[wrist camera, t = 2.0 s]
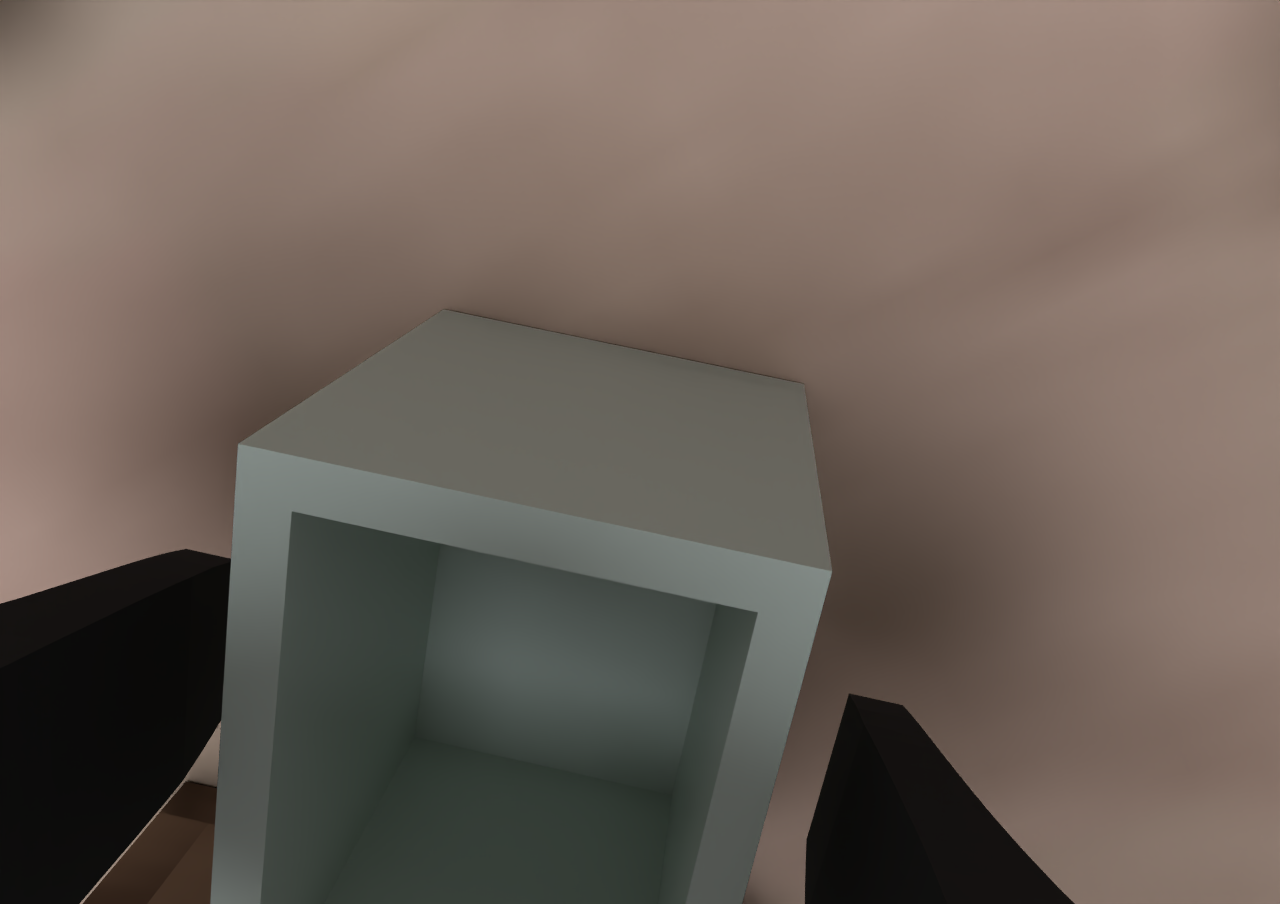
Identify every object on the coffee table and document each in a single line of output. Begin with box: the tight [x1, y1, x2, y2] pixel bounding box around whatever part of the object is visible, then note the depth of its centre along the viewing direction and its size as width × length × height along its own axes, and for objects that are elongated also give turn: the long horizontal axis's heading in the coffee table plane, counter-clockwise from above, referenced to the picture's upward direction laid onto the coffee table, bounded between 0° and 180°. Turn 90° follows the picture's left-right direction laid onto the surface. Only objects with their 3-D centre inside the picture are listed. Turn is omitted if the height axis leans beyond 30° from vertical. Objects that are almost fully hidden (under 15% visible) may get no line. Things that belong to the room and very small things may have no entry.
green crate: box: [210, 309, 832, 904], centre depth 13 cm, size 5×7×6 cm
